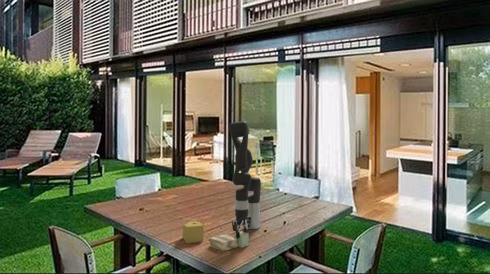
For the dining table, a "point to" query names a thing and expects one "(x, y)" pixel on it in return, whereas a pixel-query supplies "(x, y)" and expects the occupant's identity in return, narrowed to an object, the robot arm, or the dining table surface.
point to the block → (243, 239)
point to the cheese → (193, 232)
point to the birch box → (223, 242)
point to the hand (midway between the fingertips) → (241, 236)
